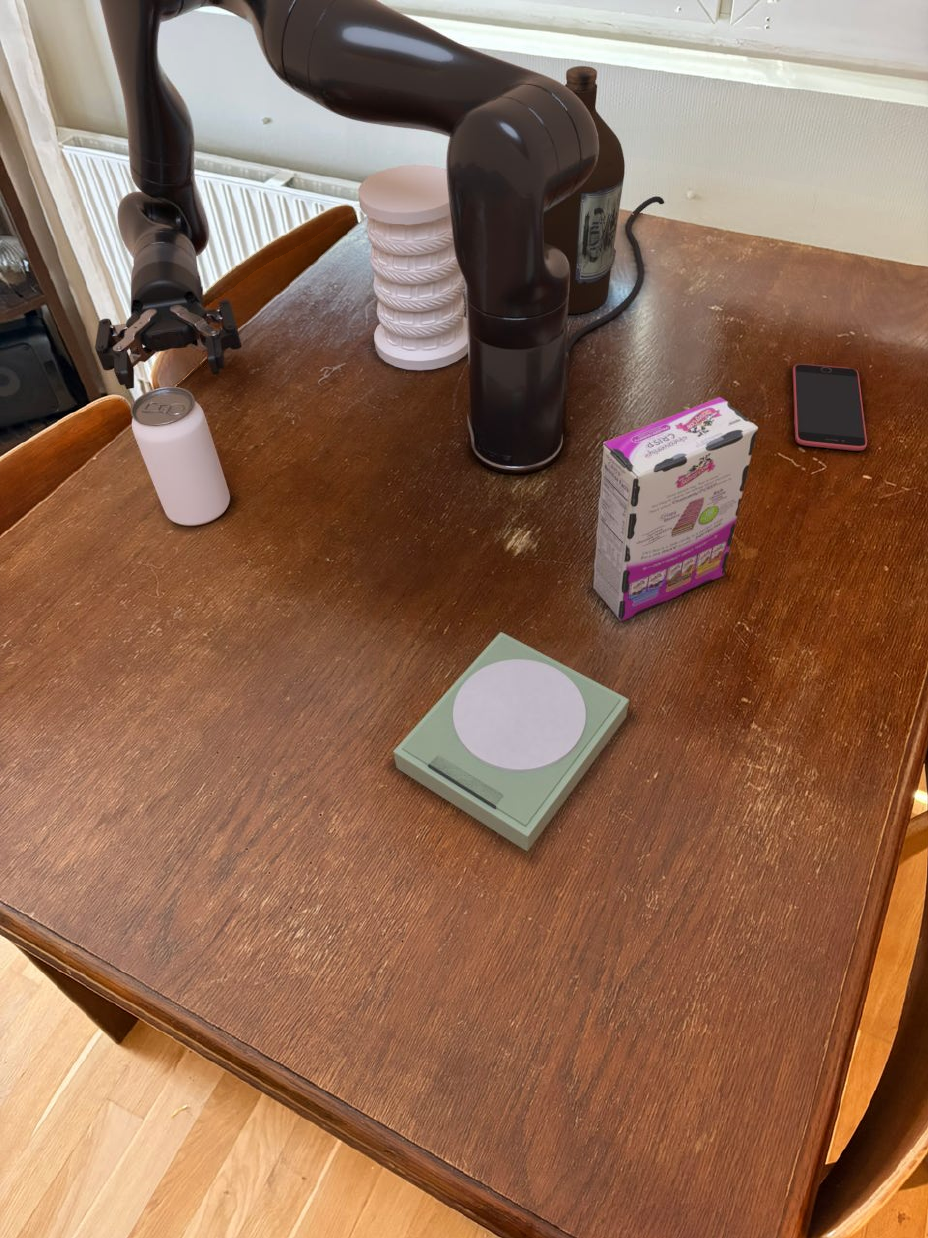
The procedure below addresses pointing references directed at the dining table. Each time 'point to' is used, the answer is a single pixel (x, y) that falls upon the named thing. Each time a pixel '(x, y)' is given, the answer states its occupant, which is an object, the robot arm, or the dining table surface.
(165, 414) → the can
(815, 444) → the smartphone
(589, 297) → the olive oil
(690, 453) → the candy bar box
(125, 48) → the robot arm
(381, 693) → the dining table surface
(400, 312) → the decorative container
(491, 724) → the scale
